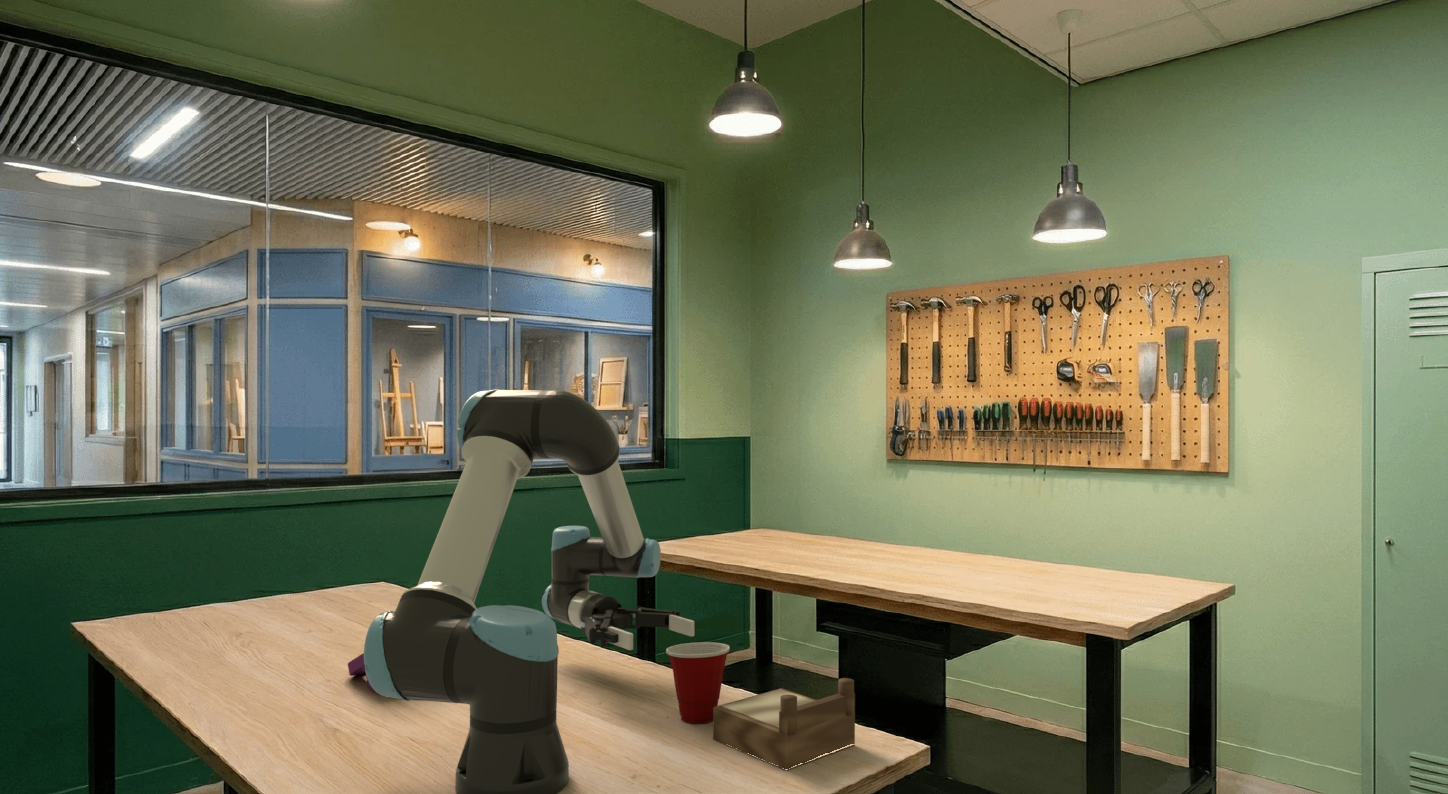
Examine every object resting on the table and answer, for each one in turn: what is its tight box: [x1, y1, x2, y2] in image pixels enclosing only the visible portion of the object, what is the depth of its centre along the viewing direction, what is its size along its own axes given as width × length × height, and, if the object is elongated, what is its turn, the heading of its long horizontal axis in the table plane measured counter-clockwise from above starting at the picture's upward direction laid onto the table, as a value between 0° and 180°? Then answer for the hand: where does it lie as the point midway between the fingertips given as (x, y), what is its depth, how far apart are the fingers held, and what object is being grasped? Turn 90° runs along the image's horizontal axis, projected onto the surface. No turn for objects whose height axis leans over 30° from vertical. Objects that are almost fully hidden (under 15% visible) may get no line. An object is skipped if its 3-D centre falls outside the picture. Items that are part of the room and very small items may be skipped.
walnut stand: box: [712, 677, 856, 770], centre depth 137 cm, size 16×15×10 cm
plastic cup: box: [665, 641, 731, 725], centre depth 148 cm, size 11×11×12 cm
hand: (663, 635), depth 156 cm, fingers open, 13 cm apart
